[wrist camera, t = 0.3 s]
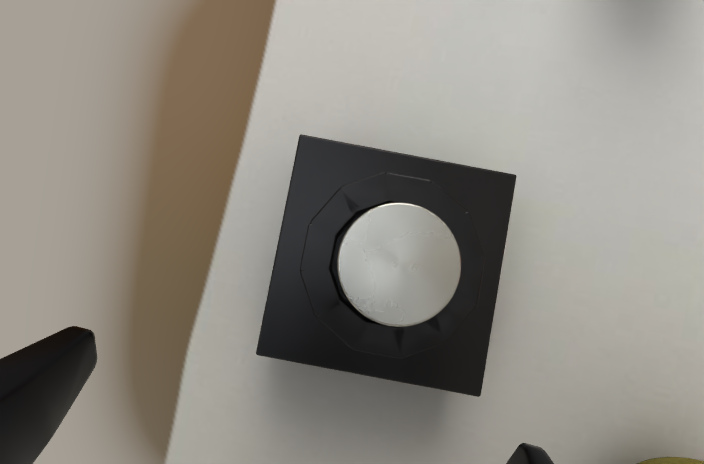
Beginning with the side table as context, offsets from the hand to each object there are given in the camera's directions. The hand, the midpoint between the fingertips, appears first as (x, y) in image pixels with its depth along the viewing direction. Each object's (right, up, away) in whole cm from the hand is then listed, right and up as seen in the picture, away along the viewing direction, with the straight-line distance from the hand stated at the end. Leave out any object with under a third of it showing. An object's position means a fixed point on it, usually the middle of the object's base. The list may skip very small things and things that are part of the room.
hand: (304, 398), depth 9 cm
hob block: (+3, +2, +14) cm, 15 cm away
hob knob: (+3, +2, +9) cm, 9 cm away
